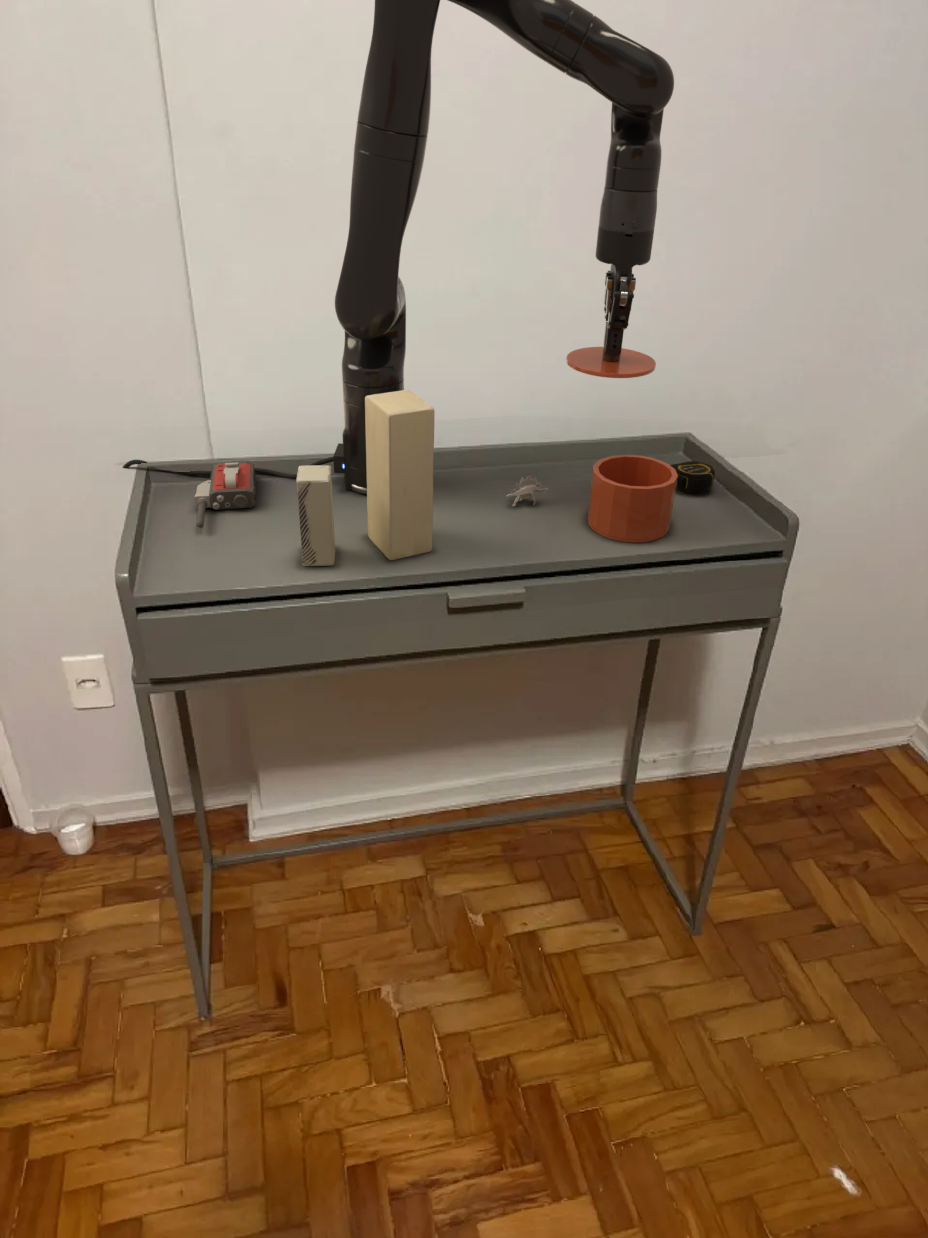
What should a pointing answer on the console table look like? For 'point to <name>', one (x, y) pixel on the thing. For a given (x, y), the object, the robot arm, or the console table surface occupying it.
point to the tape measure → (694, 476)
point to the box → (316, 515)
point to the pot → (631, 498)
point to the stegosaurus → (526, 489)
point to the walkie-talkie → (226, 488)
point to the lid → (610, 362)
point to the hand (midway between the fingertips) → (611, 350)
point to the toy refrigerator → (399, 472)
